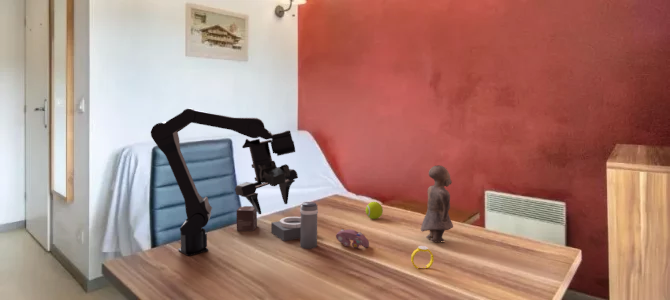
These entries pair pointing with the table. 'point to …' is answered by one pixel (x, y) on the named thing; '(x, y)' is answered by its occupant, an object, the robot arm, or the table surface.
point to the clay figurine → (438, 205)
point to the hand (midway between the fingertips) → (273, 208)
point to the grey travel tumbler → (308, 225)
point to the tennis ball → (374, 210)
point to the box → (246, 218)
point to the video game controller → (352, 238)
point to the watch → (423, 249)
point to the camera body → (287, 228)
